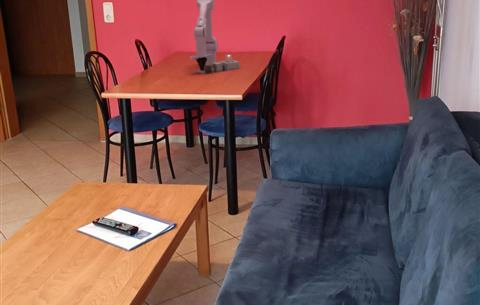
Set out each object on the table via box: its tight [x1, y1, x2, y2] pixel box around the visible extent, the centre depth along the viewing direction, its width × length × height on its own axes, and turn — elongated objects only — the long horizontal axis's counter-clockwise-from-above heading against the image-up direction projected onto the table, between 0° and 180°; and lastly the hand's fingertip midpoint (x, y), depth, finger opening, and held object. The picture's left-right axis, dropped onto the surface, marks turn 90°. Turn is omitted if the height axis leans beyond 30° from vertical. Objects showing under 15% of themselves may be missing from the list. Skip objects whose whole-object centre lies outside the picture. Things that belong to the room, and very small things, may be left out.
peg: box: [224, 54, 233, 63], centre depth 353 cm, size 4×4×8 cm
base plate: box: [192, 67, 242, 75], centre depth 351 cm, size 16×26×1 cm, turn 127°
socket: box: [218, 59, 240, 71], centre depth 353 cm, size 9×9×4 cm
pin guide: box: [211, 61, 223, 71], centre depth 348 cm, size 6×4×4 cm
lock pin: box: [204, 65, 216, 72], centre depth 347 cm, size 3×11×4 cm, turn 127°
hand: (202, 70), depth 342 cm, fingers closed
